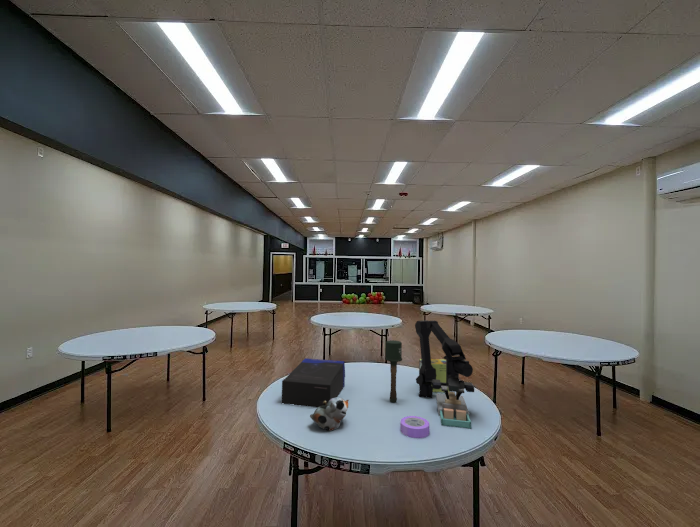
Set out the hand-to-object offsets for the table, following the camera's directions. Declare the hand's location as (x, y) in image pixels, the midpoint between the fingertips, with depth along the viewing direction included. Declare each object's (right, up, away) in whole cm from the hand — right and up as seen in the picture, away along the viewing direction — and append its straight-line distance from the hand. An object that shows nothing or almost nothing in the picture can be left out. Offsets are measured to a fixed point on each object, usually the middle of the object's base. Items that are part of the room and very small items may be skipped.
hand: (452, 404), depth 147 cm
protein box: (0, -5, +30) cm, 31 cm away
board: (+1, -4, +4) cm, 5 cm away
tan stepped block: (0, -1, -1) cm, 1 cm away
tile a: (-4, -1, -7) cm, 8 cm away
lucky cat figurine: (-57, -2, -15) cm, 59 cm away
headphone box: (-66, -4, +21) cm, 69 cm away
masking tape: (-22, -3, -19) cm, 29 cm away
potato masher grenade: (-26, -4, +11) cm, 29 cm away
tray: (-2, -3, -11) cm, 11 cm away
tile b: (+1, -1, -9) cm, 9 cm away
